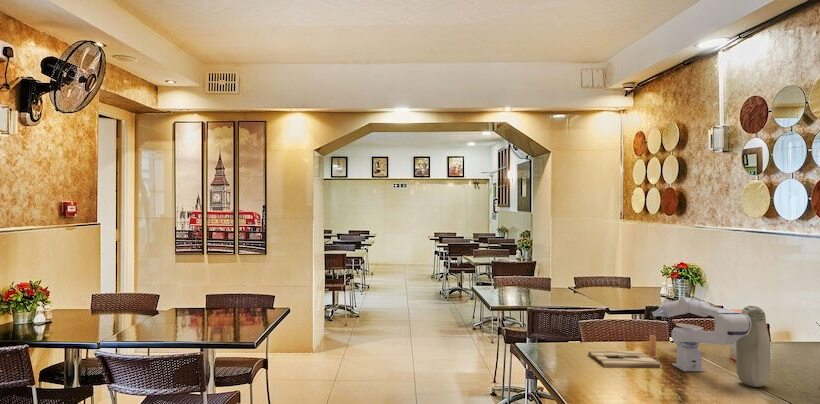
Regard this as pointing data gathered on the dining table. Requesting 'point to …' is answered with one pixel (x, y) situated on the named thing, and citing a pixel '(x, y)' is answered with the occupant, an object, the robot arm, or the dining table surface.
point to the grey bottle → (754, 350)
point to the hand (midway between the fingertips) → (658, 311)
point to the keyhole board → (624, 359)
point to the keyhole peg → (652, 347)
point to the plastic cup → (687, 326)
